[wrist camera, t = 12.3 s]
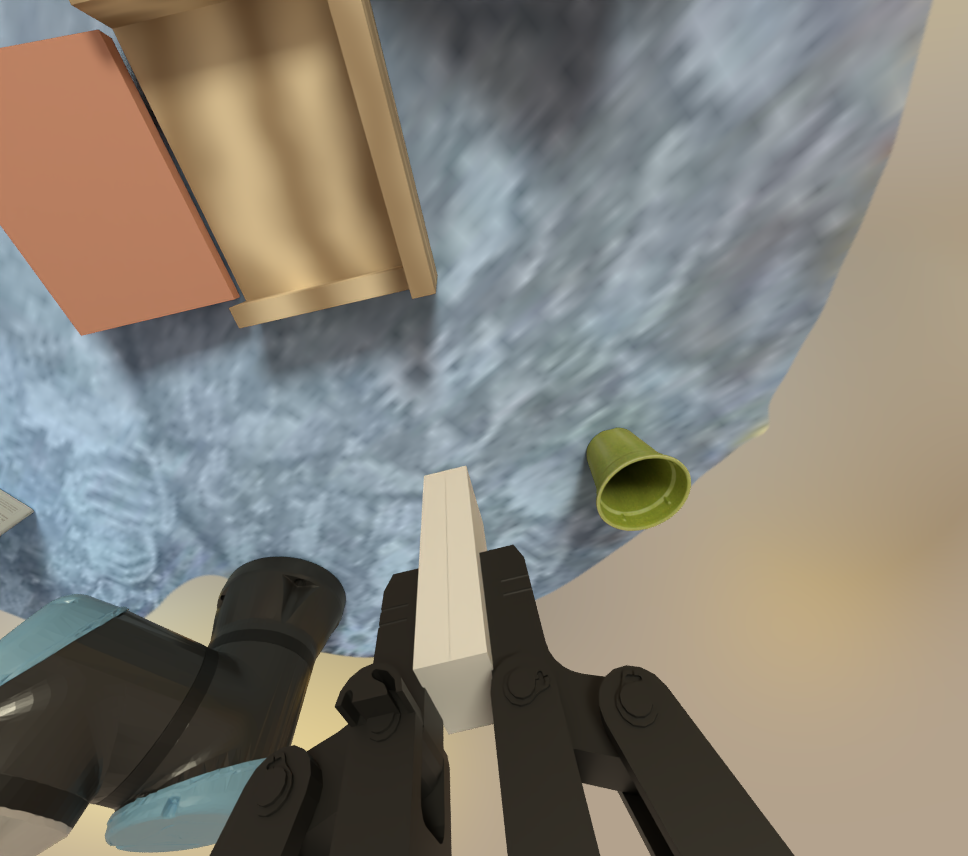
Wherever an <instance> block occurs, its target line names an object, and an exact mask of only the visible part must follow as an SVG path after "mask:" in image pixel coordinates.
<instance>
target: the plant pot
mask: <svg viewBox="0 0 968 856" xmlns="http://www.w3.org/2000/svg"><path fill="white" fill-rule="evenodd" d="M587 461H588V464H589V467H590V470H591V473H592V476H593V479H594V482H595V485H596V488H597V491H596V493H597V497H596V506H597V510H598V513H599V515H600V517H601V518H602V519H603V520H604V521H605V522H606V523H607V524H608V525H610V526H612V527H614V528H617V529H620V530H626V531H637V530H643V529H648V528H651V527H654V526H657V525H658V524H661V523H663V522H664V521H666V520H668V519H669V518H670V517H672V516H673V515H674V514H676V513H677V511H679V509H681V507H682V506H683V504H684V503H685V501H686V499H687V498H688V495H689V492H690V488H691V478H690V474H689V472H688V470H687V468H686V467H685V466H684V465H683V464H682V463H681V462H680V461H678V460H677V459H675V458H673V457H670V456H667V455H663V454H661V453H658V452H657V451H655V450H654V449H653V448H651V447H650V446H649V445H647V444H646V443H645V442H643V441H642V440H641V439H639V438H638V437H637V436H635V435H634V434H633V433H632V432H630V431H629V430H627V429H623V428H614V429H611V430H606V431H602V432H601V433H599V434H598V435H596V436H595V437H594V438H593V439H592V441H591V442H590V444H589V445H588V448H587Z"/></svg>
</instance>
